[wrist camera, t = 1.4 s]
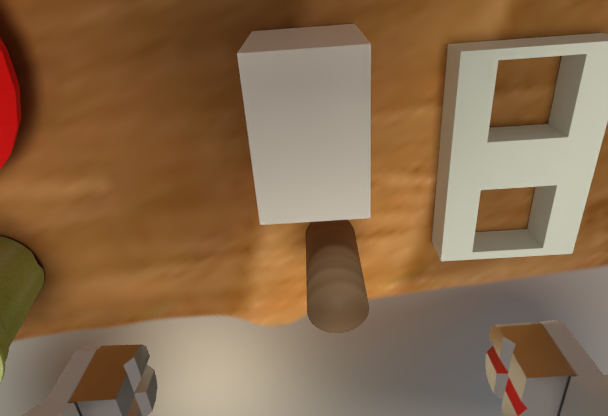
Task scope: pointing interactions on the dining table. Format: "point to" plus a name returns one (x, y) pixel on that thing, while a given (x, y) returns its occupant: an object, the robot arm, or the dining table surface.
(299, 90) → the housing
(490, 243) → the peg board
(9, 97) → the red domed lid
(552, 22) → the dining table surface
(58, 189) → the dining table surface
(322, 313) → the peg
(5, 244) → the plant pot
